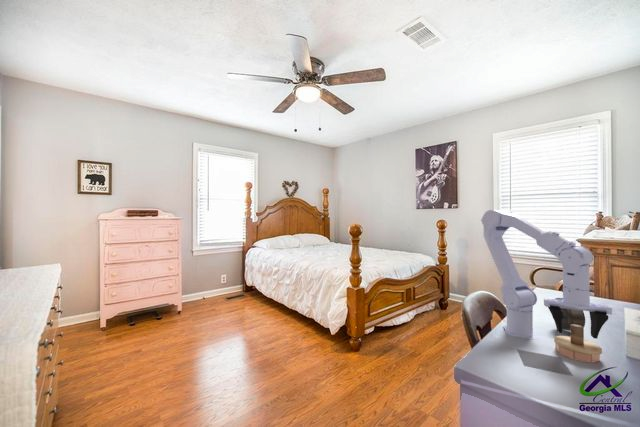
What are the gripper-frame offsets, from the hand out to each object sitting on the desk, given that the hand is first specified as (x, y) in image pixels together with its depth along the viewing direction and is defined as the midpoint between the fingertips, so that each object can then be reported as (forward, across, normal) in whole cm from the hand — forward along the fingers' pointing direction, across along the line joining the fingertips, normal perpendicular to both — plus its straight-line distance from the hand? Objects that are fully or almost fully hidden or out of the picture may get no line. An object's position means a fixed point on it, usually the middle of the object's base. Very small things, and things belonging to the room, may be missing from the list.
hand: (576, 334), depth 79 cm
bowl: (+6, 0, 0) cm, 6 cm away
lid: (+3, 0, 0) cm, 3 cm away
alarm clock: (+6, +3, +20) cm, 21 cm away
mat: (+6, -10, -10) cm, 15 cm away
